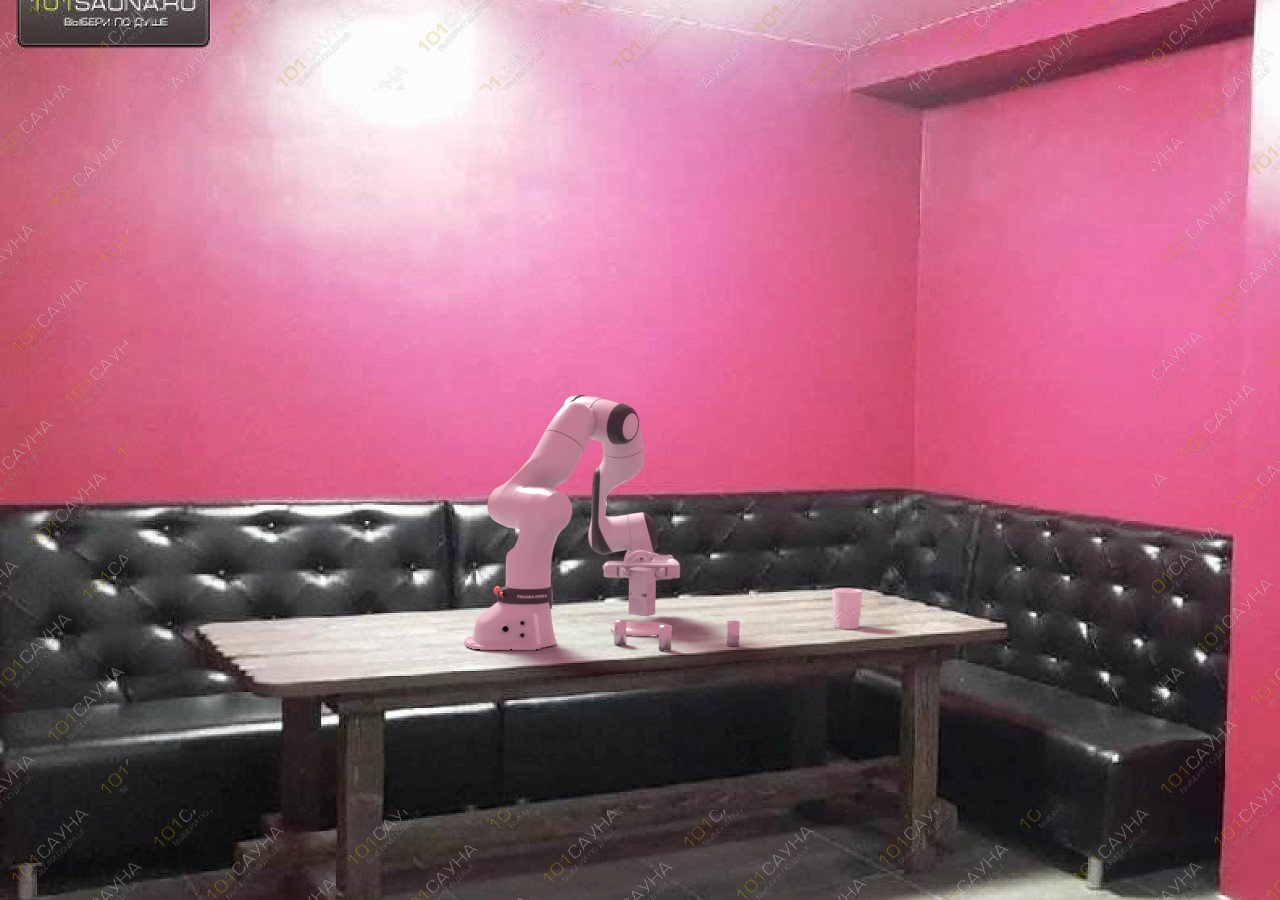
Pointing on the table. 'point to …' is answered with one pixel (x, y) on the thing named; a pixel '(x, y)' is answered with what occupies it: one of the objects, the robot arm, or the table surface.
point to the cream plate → (641, 628)
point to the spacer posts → (666, 634)
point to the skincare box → (642, 591)
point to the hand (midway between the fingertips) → (642, 573)
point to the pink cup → (846, 607)
